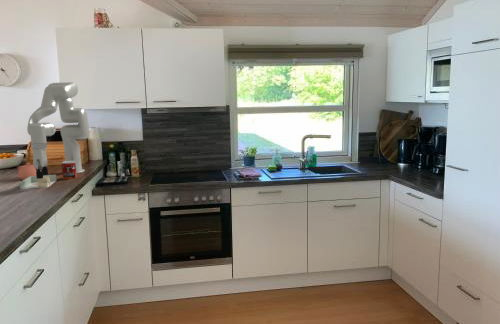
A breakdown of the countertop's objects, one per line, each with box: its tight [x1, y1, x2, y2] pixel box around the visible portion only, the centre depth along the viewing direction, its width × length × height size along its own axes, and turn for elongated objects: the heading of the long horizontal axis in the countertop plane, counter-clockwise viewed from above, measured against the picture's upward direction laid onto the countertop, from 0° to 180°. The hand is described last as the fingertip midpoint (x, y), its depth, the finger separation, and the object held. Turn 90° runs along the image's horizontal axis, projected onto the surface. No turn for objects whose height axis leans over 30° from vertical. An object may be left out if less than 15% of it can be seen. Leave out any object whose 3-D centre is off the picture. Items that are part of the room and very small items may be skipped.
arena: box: [18, 174, 57, 190], centre depth 235 cm, size 18×14×4 cm
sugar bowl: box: [17, 162, 36, 181], centre depth 255 cm, size 12×14×10 cm
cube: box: [37, 176, 51, 188], centre depth 230 cm, size 5×5×5 cm
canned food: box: [61, 160, 78, 180], centre depth 251 cm, size 8×8×11 cm
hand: (42, 176), depth 229 cm, fingers open, 9 cm apart
